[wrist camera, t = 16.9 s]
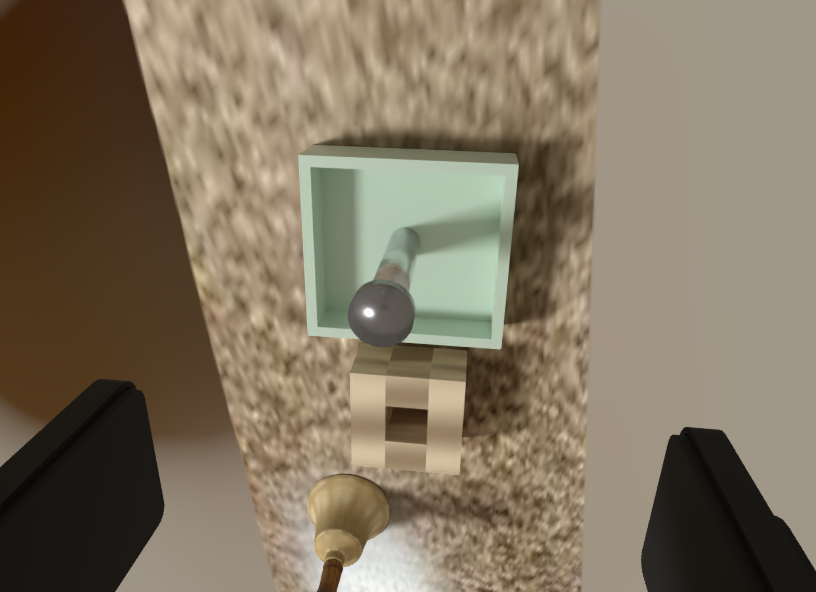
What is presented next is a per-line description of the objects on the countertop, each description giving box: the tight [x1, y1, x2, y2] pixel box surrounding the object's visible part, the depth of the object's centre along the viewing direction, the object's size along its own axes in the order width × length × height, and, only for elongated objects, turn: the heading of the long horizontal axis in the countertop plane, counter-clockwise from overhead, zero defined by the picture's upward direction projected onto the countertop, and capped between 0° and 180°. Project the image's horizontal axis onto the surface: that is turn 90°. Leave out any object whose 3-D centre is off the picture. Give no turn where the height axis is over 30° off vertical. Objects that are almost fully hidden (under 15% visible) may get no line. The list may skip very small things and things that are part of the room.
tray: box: [298, 145, 519, 349], centre depth 46 cm, size 14×15×4 cm
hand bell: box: [307, 474, 390, 592], centre depth 52 cm, size 8×8×16 cm
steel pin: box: [348, 228, 421, 347], centre depth 40 cm, size 4×4×13 cm
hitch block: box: [350, 343, 467, 475], centre depth 51 cm, size 9×9×5 cm
